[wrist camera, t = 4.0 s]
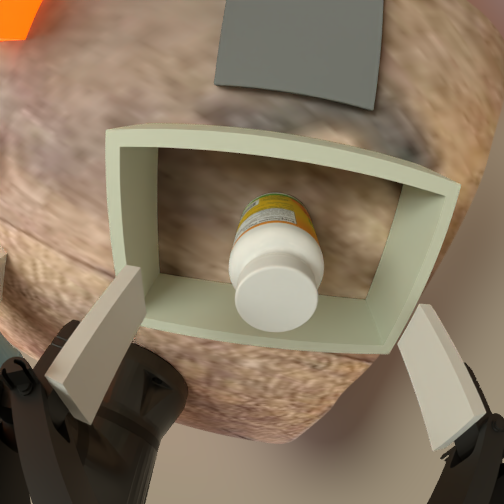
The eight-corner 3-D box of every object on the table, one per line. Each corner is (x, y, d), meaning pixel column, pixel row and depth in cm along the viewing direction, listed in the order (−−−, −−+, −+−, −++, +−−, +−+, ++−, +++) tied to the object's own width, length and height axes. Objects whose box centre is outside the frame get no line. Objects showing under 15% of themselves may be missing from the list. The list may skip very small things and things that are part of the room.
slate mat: (369, 110, 17) (373, 110, 16) (216, 85, 17) (213, 84, 16) (379, -10, 12) (383, -13, 11) (235, -35, 12) (234, -40, 11)
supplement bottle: (309, 254, 23) (328, 340, 14) (243, 256, 23) (227, 343, 14) (310, 189, 20) (338, 249, 11) (237, 192, 21) (211, 254, 12)
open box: (371, 308, 25) (388, 354, 19) (150, 280, 25) (124, 322, 20) (418, 164, 18) (461, 184, 13) (147, 123, 18) (105, 129, 13)
